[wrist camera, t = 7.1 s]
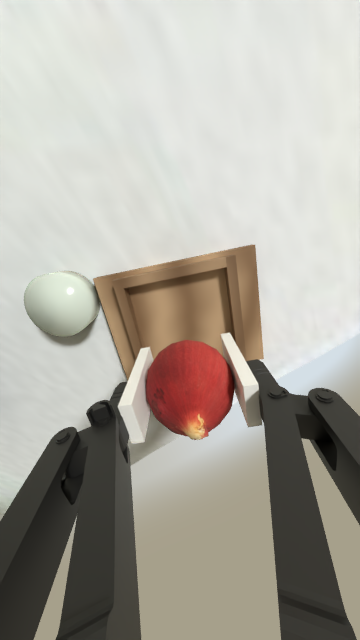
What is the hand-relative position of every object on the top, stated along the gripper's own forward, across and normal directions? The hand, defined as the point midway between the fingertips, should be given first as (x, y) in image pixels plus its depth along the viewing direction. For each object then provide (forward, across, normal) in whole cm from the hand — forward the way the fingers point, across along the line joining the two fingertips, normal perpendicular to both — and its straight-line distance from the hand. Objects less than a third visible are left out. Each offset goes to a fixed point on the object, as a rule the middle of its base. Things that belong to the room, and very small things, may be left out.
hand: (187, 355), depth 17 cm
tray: (+9, 0, 0) cm, 9 cm away
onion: (+1, 0, 0) cm, 1 cm away
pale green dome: (+9, -13, +5) cm, 17 cm away
